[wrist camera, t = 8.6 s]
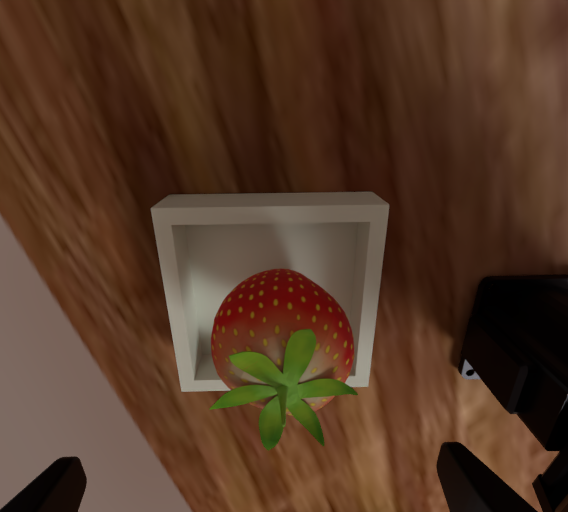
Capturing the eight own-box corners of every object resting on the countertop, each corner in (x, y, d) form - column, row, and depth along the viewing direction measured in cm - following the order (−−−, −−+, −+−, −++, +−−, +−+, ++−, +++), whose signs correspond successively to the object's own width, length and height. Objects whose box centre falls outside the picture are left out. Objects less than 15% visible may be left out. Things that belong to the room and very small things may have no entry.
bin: (372, 191, 15) (389, 204, 13) (356, 353, 19) (367, 386, 17) (169, 194, 15) (150, 208, 13) (193, 357, 19) (181, 391, 16)
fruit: (350, 262, 16) (415, 386, 9) (307, 343, 18) (330, 502, 10) (247, 222, 15) (221, 322, 8) (212, 311, 17) (164, 462, 10)
